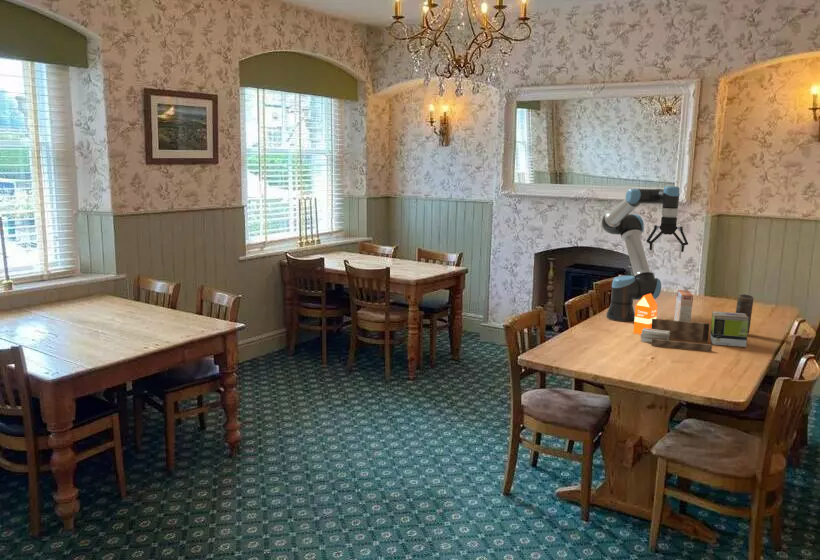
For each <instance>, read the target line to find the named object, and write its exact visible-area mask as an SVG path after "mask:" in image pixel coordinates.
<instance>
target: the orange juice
mask: <svg viewBox="0 0 820 560" xmlns="http://www.w3.org/2000/svg"><path fill="white" fill-rule="evenodd" d="M634 313H635V319H634V320H633V334H636V333H638V334H637V335H641V333H642V329H643V328H649V329H651V327H652V319H657V316H658V315H657V313H658V304H657V302H656V299H654V298H653V296H652V294H651V293H650V294H647V295H644V296H643V297H642V298H641V300H638V301H637V303H636V304H635V309H634Z"/></svg>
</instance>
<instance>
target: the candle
mask: <svg viewBox="0 0 820 560" xmlns="http://www.w3.org/2000/svg"><path fill="white" fill-rule="evenodd" d="M754 300H755V299H754V297H753V296H752V295H749V294H738V295H737V300H736V301H737V302H736V306H735V308H736V309H735V313H745V314H746V315H747V316H748V317H749V323H748V334H749V333H750V329H751V320H752V311H753V305H754Z"/></svg>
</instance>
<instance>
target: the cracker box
mask: <svg viewBox="0 0 820 560" xmlns="http://www.w3.org/2000/svg"><path fill="white" fill-rule="evenodd" d="M675 299H676V300H675V307H674V318H673V320H674V321H685V322H692V321H691V319H692V312H693V311H692V310H693V301H694V295H693V293H691V292H690V291H689V290H687V289H677V291H676V297H675Z"/></svg>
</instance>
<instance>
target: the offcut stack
mask: <svg viewBox="0 0 820 560" xmlns="http://www.w3.org/2000/svg"><path fill="white" fill-rule="evenodd" d="M669 335H670V331H664V330H656V329H649V328H643V329H642V333H641V334H640V342H641V341H642V343H648V344H649V343H650V344H652V339H659V340H669V341H670V339H668V337H669Z"/></svg>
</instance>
